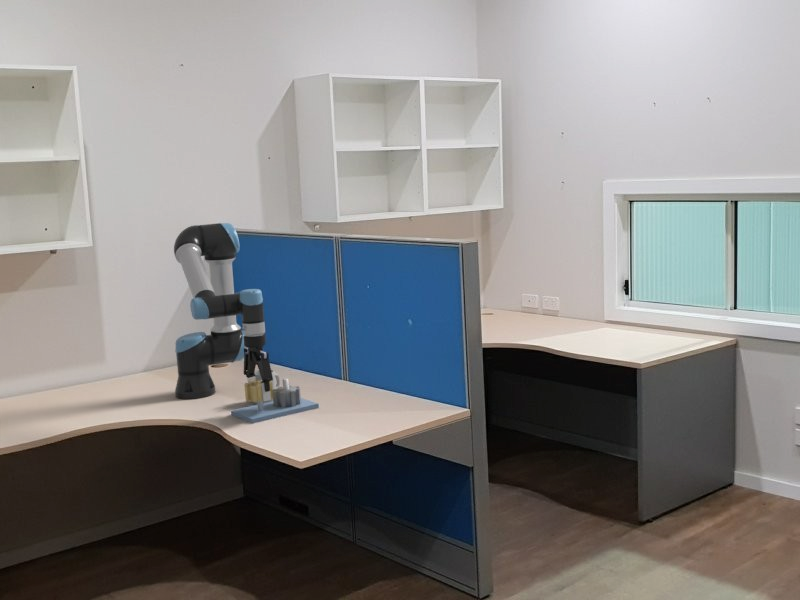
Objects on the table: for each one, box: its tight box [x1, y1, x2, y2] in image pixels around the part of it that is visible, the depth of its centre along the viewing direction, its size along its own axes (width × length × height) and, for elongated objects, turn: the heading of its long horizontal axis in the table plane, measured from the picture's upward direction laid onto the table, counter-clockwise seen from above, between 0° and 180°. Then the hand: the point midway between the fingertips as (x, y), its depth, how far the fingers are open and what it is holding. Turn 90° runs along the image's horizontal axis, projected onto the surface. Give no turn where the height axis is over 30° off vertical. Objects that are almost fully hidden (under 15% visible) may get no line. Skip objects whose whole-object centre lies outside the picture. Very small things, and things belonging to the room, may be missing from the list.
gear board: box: [230, 378, 320, 424], centre depth 325 cm, size 16×26×10 cm, turn 126°
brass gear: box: [244, 380, 274, 403], centre depth 321 cm, size 10×10×6 cm
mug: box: [253, 369, 281, 405], centre depth 341 cm, size 12×8×11 cm
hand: (259, 397), depth 322 cm, fingers closed on brass gear, 10 cm apart
